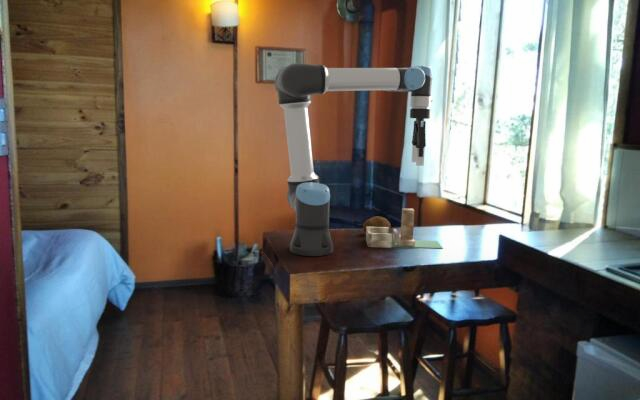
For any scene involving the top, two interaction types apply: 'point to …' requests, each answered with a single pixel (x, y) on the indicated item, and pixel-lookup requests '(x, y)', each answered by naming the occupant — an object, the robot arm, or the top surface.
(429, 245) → the plate
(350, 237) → the top surface
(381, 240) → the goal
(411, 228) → the kicker
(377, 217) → the potato
